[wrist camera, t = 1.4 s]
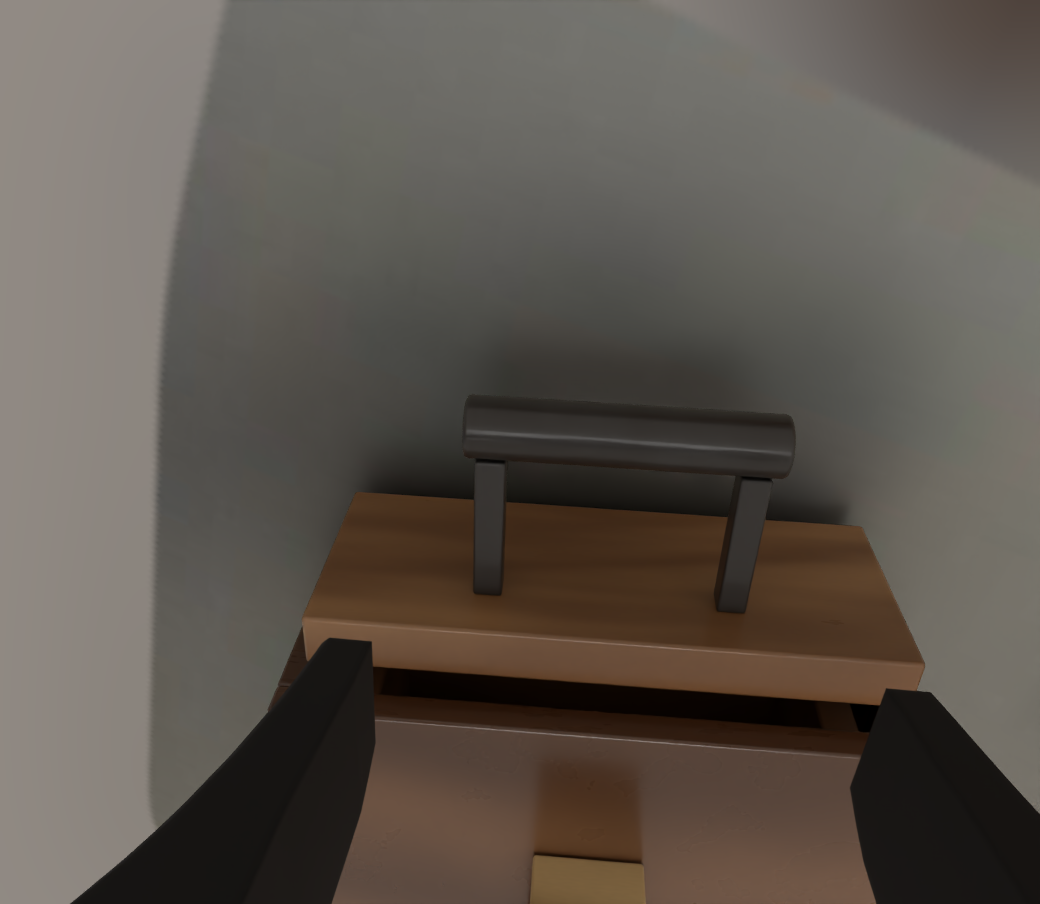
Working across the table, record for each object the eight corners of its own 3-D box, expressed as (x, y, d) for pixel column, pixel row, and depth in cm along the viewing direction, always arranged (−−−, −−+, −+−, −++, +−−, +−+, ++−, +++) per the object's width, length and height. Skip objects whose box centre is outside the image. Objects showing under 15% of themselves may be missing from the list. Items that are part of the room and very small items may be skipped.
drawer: (343, 321, 19) (277, 421, 15) (910, 354, 19) (998, 469, 15) (376, 801, 27) (338, 952, 23) (775, 834, 27) (808, 994, 23)
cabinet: (343, 525, 23) (265, 709, 18) (862, 562, 23) (950, 764, 17) (367, 832, 29) (315, 1039, 24) (774, 866, 29) (818, 1086, 23)
